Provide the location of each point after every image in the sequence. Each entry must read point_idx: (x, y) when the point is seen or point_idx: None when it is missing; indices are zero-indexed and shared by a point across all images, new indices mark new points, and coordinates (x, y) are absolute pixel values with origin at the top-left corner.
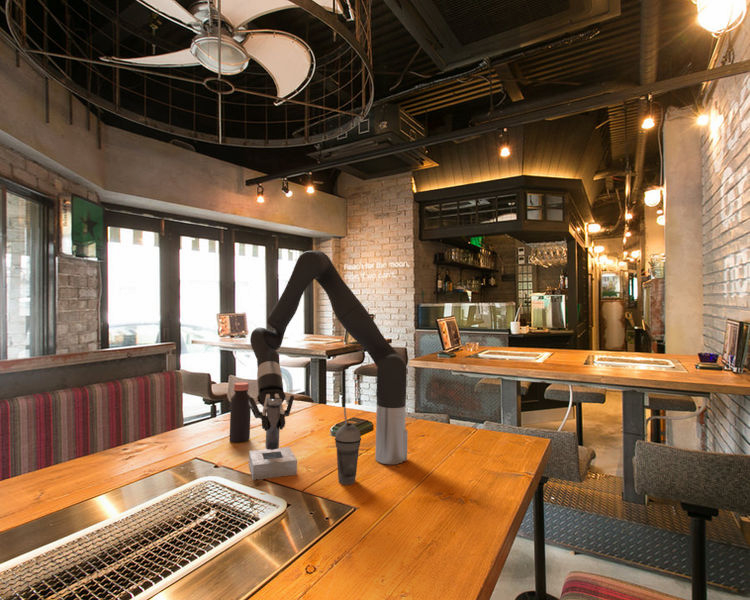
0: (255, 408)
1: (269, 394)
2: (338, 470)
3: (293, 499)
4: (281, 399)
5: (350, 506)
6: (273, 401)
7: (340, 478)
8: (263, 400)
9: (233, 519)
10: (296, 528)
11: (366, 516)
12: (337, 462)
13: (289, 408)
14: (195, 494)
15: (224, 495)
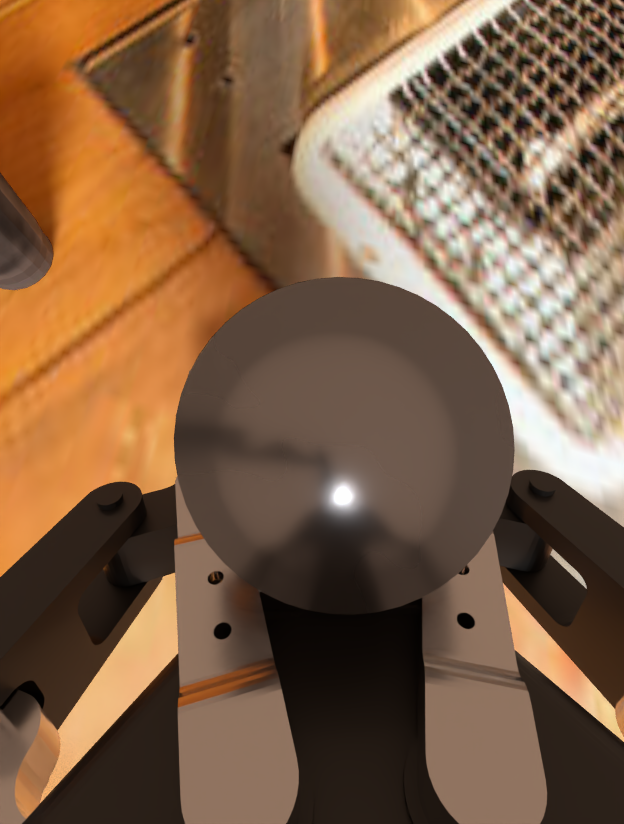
0: (604, 535)
1: (454, 818)
2: (27, 219)
3: (265, 178)
4: (188, 384)
5: (91, 79)
6: (371, 284)
7: (40, 230)
8: (539, 693)
9: (467, 115)
10: (290, 20)
11: (69, 15)
12: (5, 209)
13: (81, 521)
14: (618, 321)
15: (510, 281)
